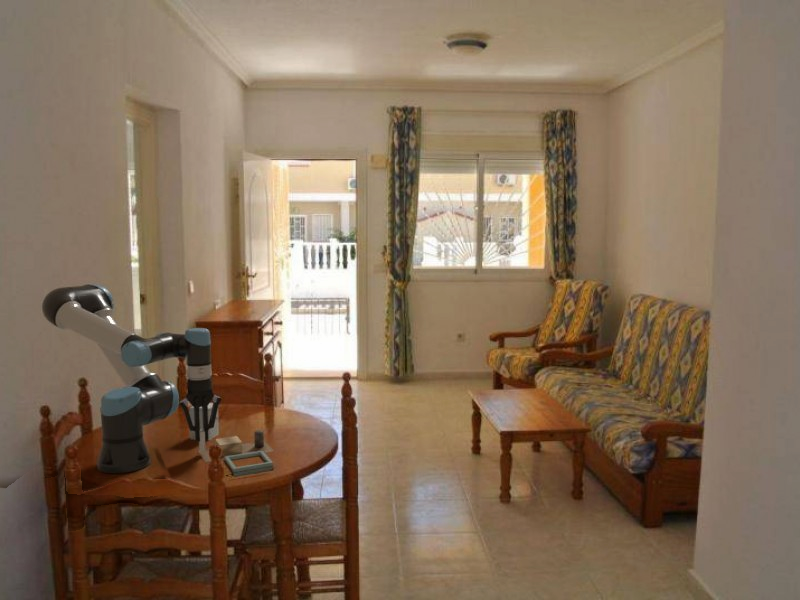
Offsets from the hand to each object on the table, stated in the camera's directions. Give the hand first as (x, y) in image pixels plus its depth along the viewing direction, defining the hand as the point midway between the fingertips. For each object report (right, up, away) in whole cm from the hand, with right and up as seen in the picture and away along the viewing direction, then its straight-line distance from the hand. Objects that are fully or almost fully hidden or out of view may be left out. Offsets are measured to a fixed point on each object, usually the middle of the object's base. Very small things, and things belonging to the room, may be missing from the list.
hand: (202, 450), depth 212 cm
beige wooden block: (+7, -1, +4) cm, 9 cm away
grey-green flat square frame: (+16, -4, -6) cm, 18 cm away
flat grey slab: (+10, -3, +4) cm, 11 cm away
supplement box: (-5, -1, +19) cm, 20 cm away
